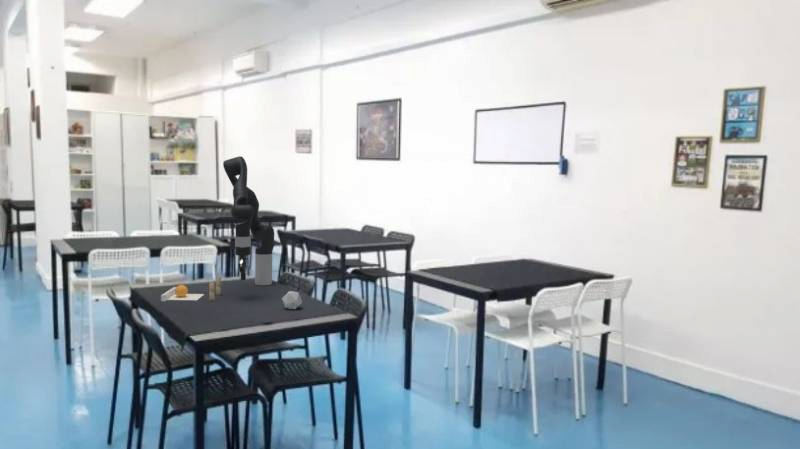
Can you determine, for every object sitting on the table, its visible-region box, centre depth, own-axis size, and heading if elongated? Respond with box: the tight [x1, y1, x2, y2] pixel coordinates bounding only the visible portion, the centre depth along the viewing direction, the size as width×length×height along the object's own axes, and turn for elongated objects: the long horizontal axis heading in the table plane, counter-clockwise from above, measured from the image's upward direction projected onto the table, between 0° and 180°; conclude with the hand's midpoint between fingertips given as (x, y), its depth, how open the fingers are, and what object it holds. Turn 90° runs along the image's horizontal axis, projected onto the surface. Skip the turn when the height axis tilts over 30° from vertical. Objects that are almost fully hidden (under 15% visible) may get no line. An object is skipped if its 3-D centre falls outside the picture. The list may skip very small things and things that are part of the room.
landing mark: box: [167, 293, 205, 301], centre depth 297 cm, size 14×14×1 cm
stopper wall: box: [160, 286, 177, 302], centre depth 296 cm, size 20×2×3 cm, turn 4°
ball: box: [175, 284, 189, 297], centre depth 297 cm, size 6×6×6 cm
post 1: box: [208, 281, 216, 302], centre depth 291 cm, size 2×2×9 cm
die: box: [281, 290, 303, 311], centre depth 280 cm, size 8×9×10 cm
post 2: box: [215, 276, 222, 296], centre depth 304 cm, size 2×2×9 cm
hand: (243, 279), depth 298 cm, fingers closed
